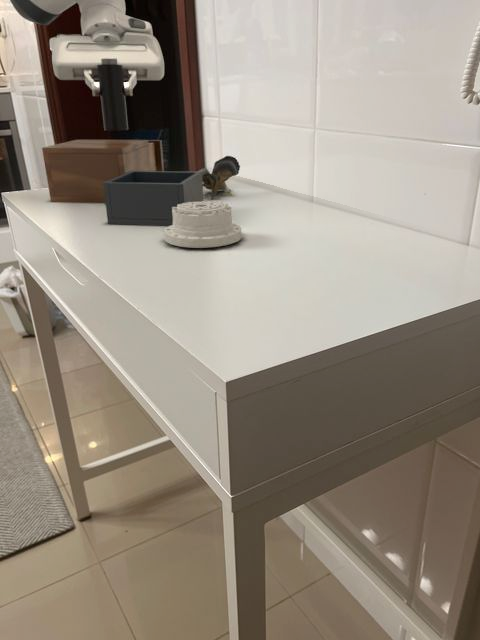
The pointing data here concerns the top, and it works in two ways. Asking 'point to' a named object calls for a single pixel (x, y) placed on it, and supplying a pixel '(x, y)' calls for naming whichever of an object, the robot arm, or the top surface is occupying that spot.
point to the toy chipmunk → (220, 175)
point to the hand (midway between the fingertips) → (112, 93)
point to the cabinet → (91, 166)
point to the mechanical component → (202, 225)
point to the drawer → (156, 155)
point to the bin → (150, 196)
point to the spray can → (112, 95)
